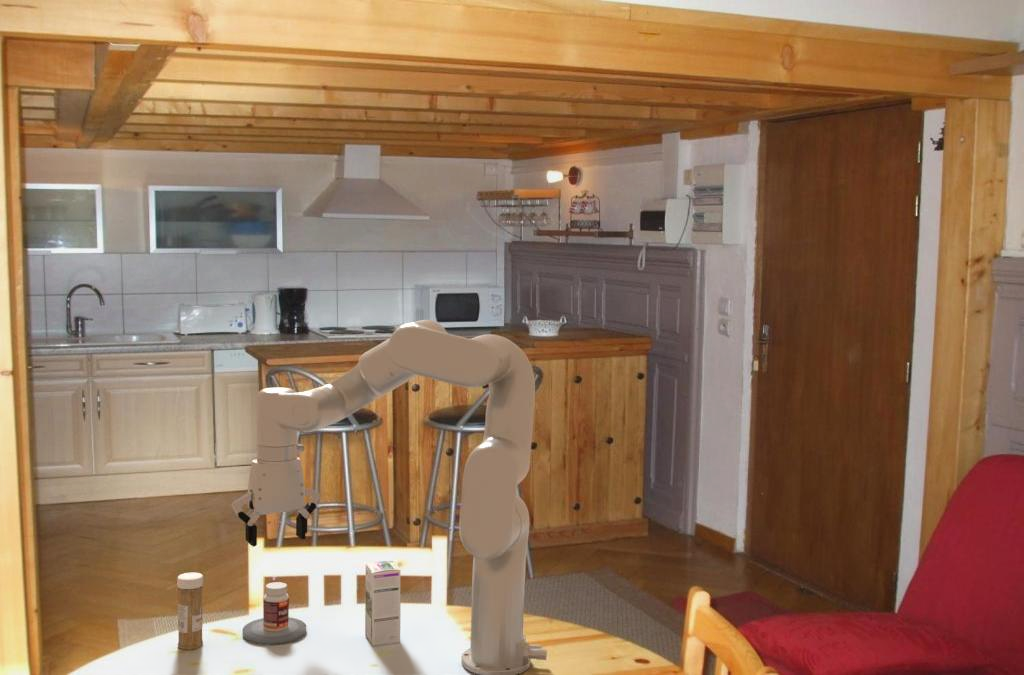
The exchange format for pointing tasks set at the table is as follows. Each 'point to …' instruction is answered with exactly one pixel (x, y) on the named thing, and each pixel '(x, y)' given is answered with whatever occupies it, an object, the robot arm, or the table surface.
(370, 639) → the syrup box
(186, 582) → the sprinkles bottle
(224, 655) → the table surface
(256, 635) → the dish
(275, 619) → the pill bottle
